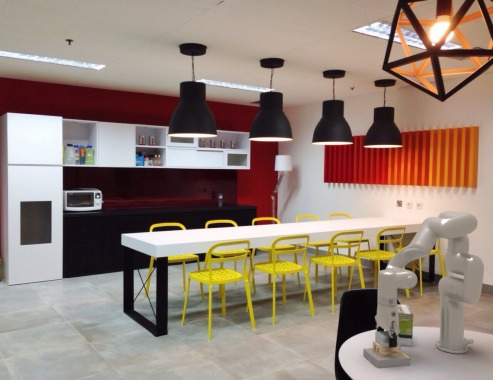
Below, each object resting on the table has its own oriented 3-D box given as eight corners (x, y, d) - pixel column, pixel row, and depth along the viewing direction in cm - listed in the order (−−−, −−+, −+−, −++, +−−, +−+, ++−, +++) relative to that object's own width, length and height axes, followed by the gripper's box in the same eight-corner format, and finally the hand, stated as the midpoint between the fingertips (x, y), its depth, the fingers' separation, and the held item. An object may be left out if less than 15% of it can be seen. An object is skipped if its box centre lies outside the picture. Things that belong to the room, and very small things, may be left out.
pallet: (392, 349, 183) (392, 330, 183) (400, 355, 178) (400, 335, 177) (372, 351, 181) (373, 331, 181) (380, 356, 176) (380, 337, 175)
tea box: (413, 346, 195) (413, 313, 194) (389, 344, 197) (389, 312, 196) (407, 334, 209) (408, 304, 209) (385, 333, 211) (386, 302, 211)
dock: (393, 353, 187) (393, 346, 187) (410, 365, 175) (410, 357, 175) (363, 355, 184) (363, 348, 184) (377, 368, 172) (378, 360, 172)
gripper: (407, 306, 171) (406, 350, 172) (384, 295, 188) (383, 334, 189) (390, 307, 170) (389, 351, 170) (368, 295, 187) (367, 335, 187)
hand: (386, 342), depth 179 cm, fingers open, 9 cm apart
